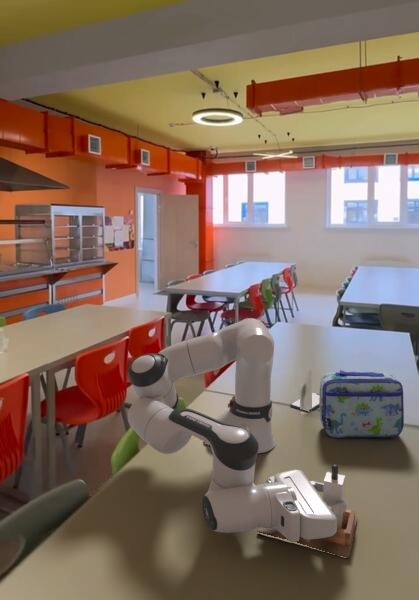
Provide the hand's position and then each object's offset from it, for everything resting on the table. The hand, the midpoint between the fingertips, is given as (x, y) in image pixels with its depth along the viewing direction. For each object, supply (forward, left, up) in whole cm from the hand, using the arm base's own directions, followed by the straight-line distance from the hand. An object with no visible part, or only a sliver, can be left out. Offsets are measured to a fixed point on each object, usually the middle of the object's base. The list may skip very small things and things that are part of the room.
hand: (337, 496), depth 105 cm
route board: (-6, 0, -9) cm, 11 cm away
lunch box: (-1, +54, -9) cm, 54 cm away
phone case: (-21, +73, -10) cm, 77 cm away
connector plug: (-1, -1, -6) cm, 7 cm away
